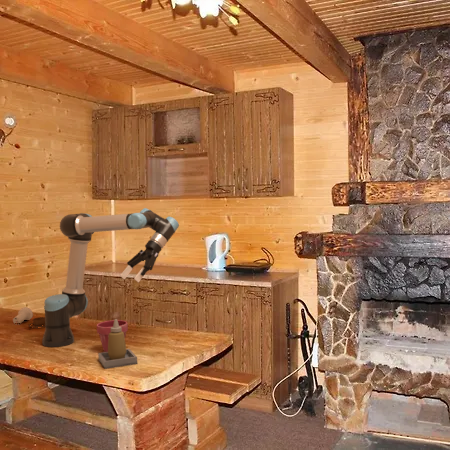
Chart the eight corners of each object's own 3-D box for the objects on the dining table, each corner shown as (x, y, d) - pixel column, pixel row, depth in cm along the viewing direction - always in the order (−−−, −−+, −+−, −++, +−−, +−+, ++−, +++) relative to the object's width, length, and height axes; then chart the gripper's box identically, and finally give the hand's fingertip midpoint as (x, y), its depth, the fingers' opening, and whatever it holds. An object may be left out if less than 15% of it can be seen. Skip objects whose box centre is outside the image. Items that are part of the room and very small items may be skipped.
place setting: (48, 322, 312) (48, 312, 312) (67, 327, 299) (66, 317, 299) (20, 328, 299) (19, 318, 299) (38, 333, 286) (37, 323, 286)
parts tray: (98, 359, 235) (98, 353, 235) (129, 355, 241) (129, 348, 240) (104, 368, 222) (104, 361, 222) (137, 363, 228) (137, 357, 228)
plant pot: (92, 353, 245) (90, 326, 244) (106, 345, 258) (105, 319, 258) (120, 355, 241) (119, 327, 240) (133, 346, 254) (132, 320, 254)
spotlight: (35, 318, 317) (30, 305, 315) (24, 326, 306) (19, 313, 304) (23, 320, 319) (19, 307, 317) (12, 328, 308) (8, 315, 307)
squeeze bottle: (109, 357, 235) (107, 317, 234) (127, 356, 236) (126, 316, 235) (106, 363, 227) (105, 321, 226) (125, 362, 228) (124, 321, 227)
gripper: (174, 251, 247) (147, 287, 239) (147, 247, 267) (121, 281, 258) (164, 240, 244) (137, 276, 235) (137, 238, 263) (111, 271, 255)
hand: (129, 279), depth 247 cm, fingers open, 13 cm apart
